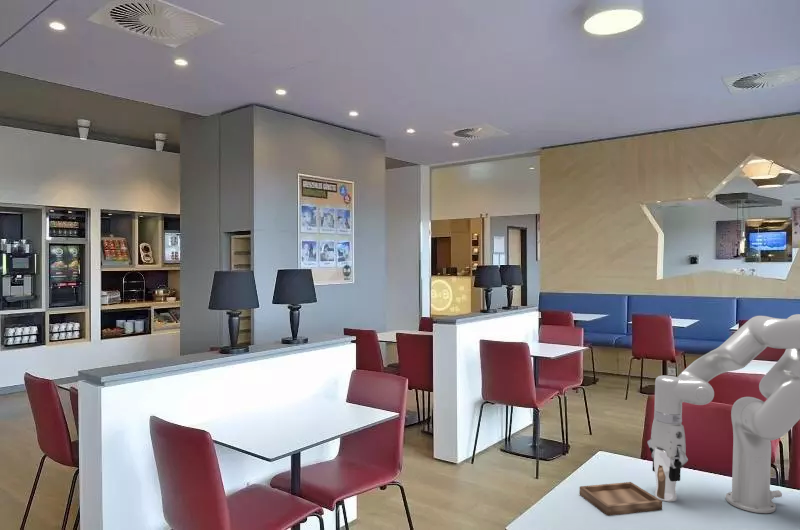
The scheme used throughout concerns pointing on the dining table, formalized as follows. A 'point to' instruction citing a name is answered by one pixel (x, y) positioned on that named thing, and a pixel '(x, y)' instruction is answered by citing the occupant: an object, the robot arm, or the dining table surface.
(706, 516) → the dining table surface
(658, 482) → the beer glass
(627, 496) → the walnut tray
